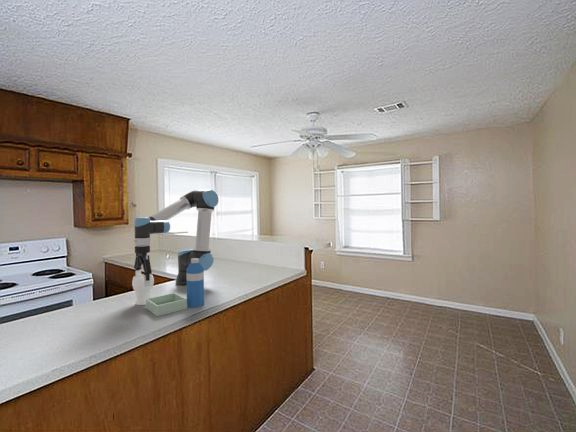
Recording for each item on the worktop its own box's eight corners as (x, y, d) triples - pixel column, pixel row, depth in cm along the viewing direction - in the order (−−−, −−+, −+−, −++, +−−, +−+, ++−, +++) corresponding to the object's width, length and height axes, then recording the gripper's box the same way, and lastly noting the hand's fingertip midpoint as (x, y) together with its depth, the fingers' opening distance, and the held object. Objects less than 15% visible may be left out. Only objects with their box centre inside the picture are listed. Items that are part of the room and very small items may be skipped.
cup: (143, 307, 153) (143, 279, 152) (128, 304, 156) (127, 277, 156) (158, 300, 163) (158, 274, 162) (143, 298, 166) (143, 273, 166)
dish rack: (174, 301, 162) (174, 292, 162) (187, 308, 151) (186, 298, 151) (146, 308, 151) (145, 298, 151) (157, 316, 140) (157, 306, 140)
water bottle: (199, 300, 164) (198, 256, 163) (207, 304, 157) (207, 258, 156) (183, 304, 157) (182, 258, 156) (191, 308, 150) (190, 261, 149)
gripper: (127, 243, 164) (128, 280, 165) (143, 248, 147) (143, 289, 147) (141, 242, 170) (141, 278, 170) (158, 247, 152) (158, 287, 153)
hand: (142, 284), depth 159 cm, fingers open, 13 cm apart
